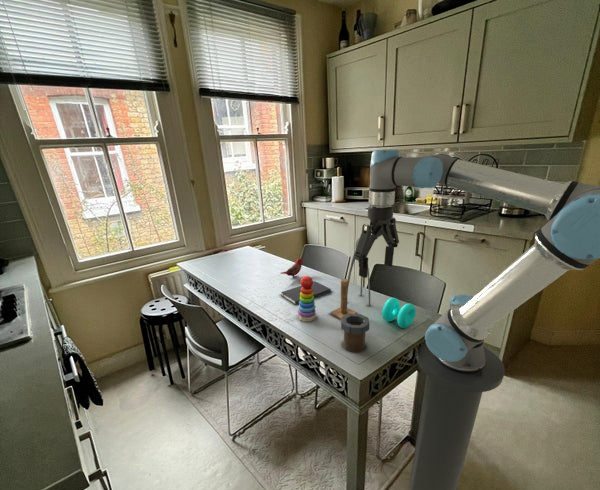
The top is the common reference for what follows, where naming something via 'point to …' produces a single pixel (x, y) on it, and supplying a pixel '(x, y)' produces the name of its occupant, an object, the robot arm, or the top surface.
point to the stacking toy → (306, 300)
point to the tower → (343, 302)
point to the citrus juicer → (361, 277)
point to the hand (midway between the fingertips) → (376, 270)
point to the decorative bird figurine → (294, 268)
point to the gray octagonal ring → (355, 328)
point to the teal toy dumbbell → (398, 312)
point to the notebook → (295, 292)
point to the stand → (354, 340)
